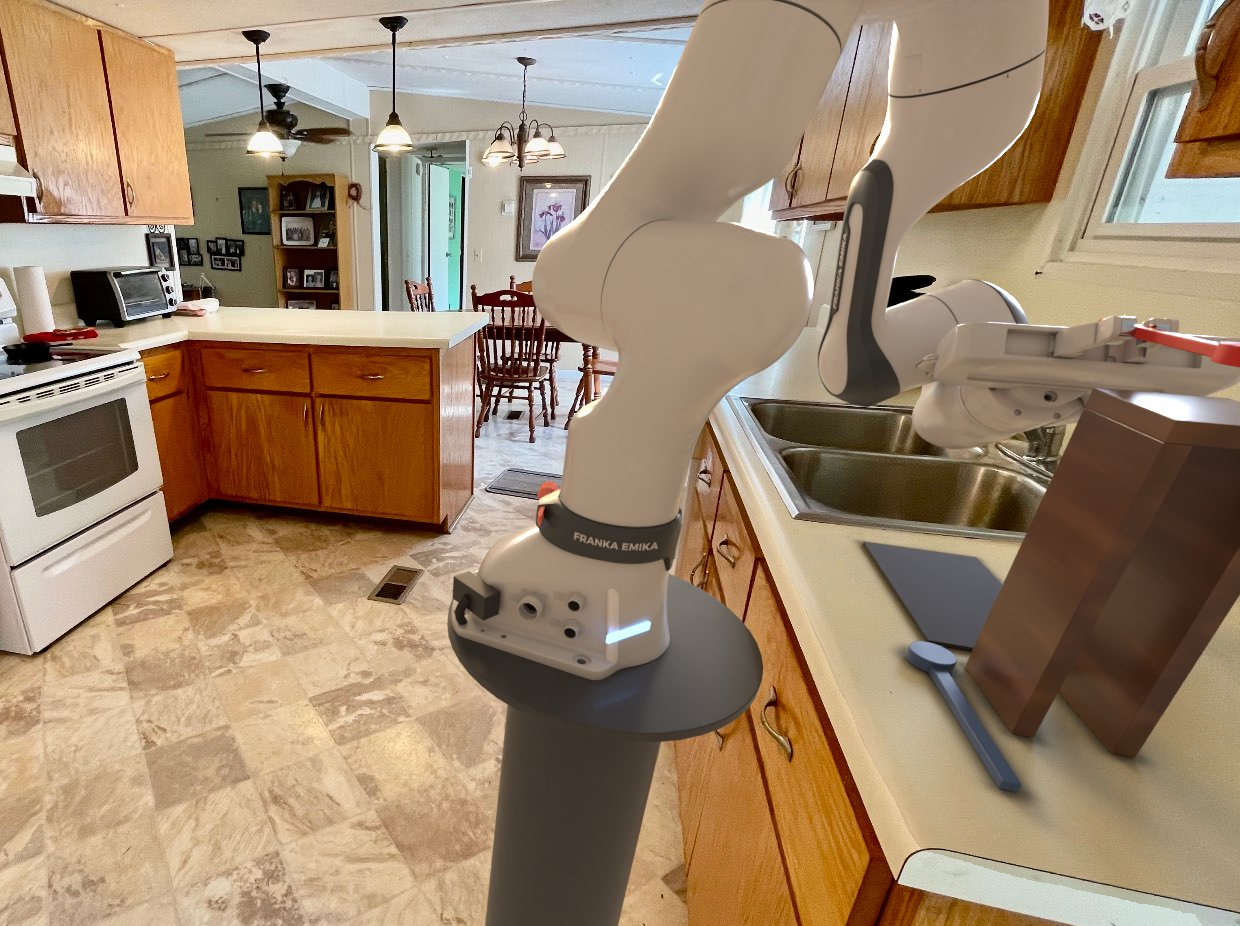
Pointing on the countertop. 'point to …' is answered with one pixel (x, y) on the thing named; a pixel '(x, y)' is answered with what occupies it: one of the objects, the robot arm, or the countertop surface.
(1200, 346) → the red spoon
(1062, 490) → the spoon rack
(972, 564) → the charcoal mat
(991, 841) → the countertop surface
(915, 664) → the blue spoon
